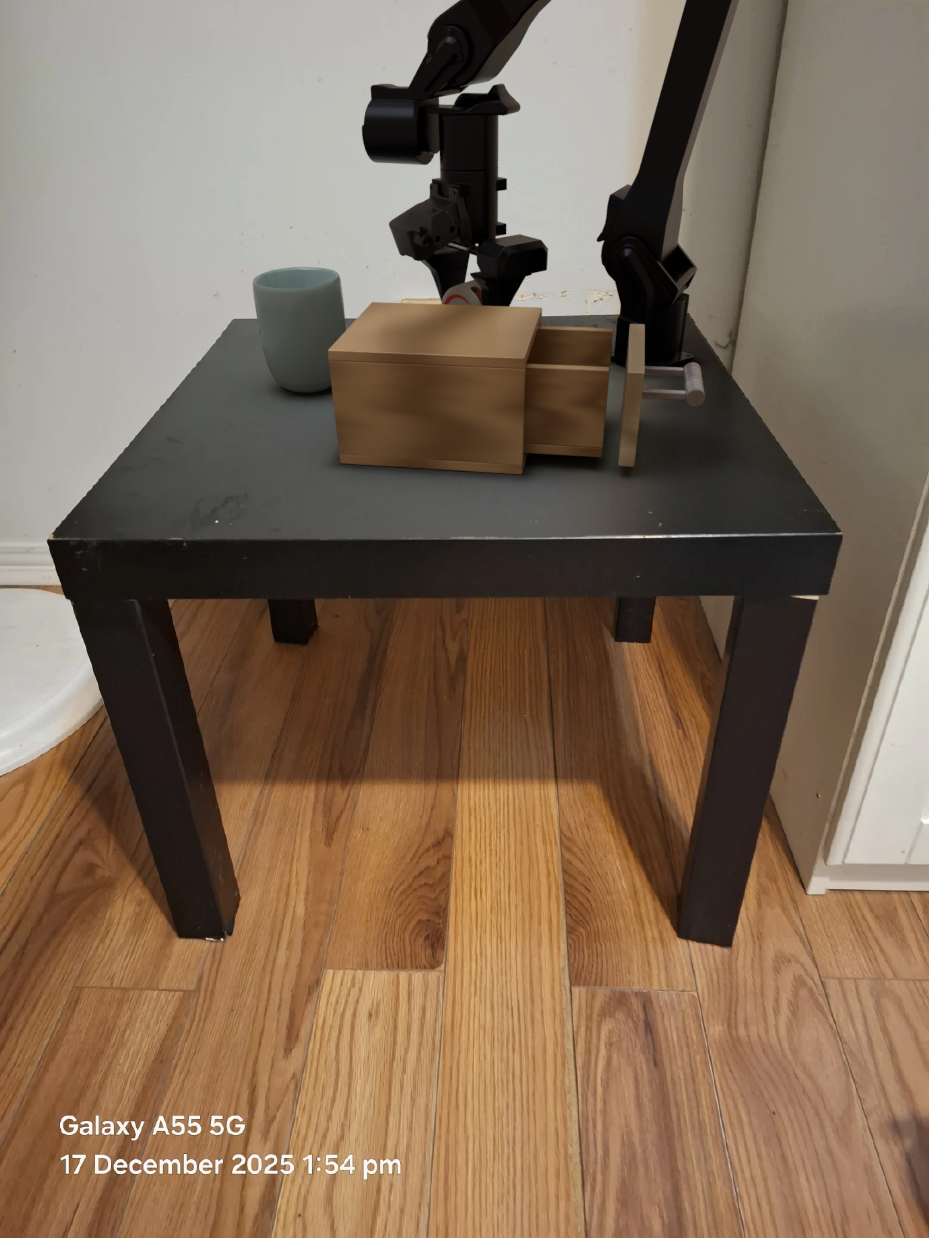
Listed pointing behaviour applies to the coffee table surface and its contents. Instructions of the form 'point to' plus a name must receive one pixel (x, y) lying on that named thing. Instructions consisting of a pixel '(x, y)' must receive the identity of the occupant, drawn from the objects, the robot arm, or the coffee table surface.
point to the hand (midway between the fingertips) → (471, 328)
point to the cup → (299, 324)
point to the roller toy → (463, 294)
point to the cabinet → (433, 386)
